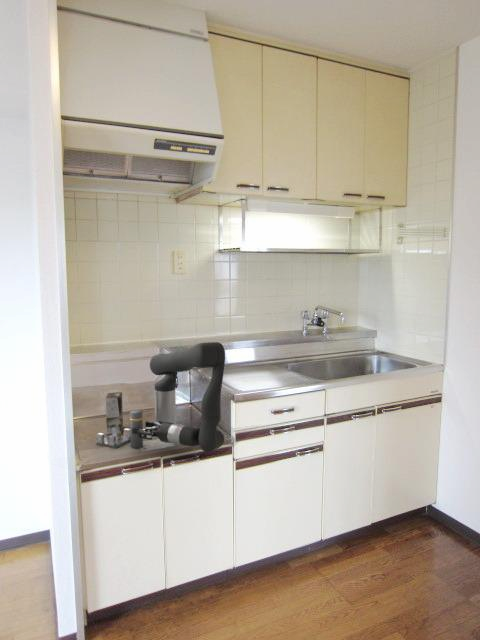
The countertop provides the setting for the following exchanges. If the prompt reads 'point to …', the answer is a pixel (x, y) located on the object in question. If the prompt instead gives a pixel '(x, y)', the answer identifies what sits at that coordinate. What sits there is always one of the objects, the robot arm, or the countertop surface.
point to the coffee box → (114, 412)
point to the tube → (136, 423)
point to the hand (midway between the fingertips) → (139, 427)
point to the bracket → (114, 438)
